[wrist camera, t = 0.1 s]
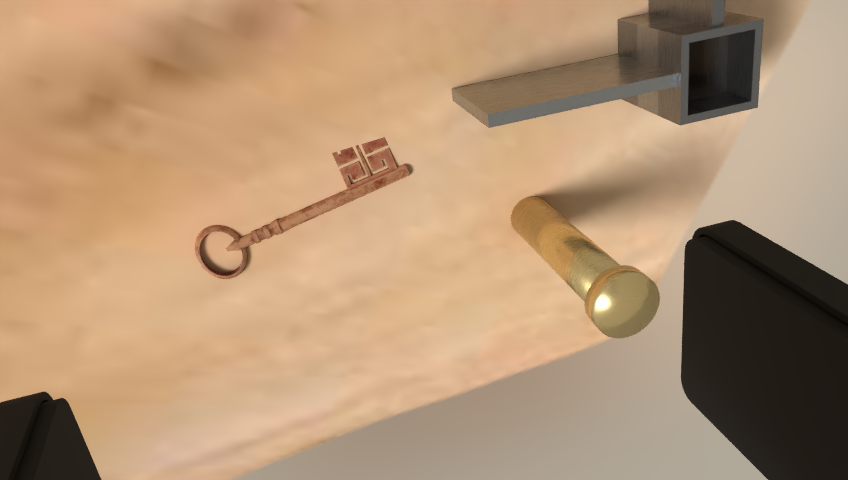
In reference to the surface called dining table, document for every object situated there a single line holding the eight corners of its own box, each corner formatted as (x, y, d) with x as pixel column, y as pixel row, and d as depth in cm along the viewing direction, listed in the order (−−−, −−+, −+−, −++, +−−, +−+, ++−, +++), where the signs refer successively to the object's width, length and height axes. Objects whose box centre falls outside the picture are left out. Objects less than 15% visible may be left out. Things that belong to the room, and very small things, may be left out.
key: (384, 116, 48) (171, 209, 47) (387, 118, 47) (170, 213, 46) (415, 193, 50) (213, 284, 49) (418, 196, 49) (212, 289, 48)
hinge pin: (501, 196, 52) (593, 284, 39) (554, 184, 52) (659, 267, 40) (507, 246, 54) (596, 345, 41) (557, 234, 54) (659, 327, 42)
